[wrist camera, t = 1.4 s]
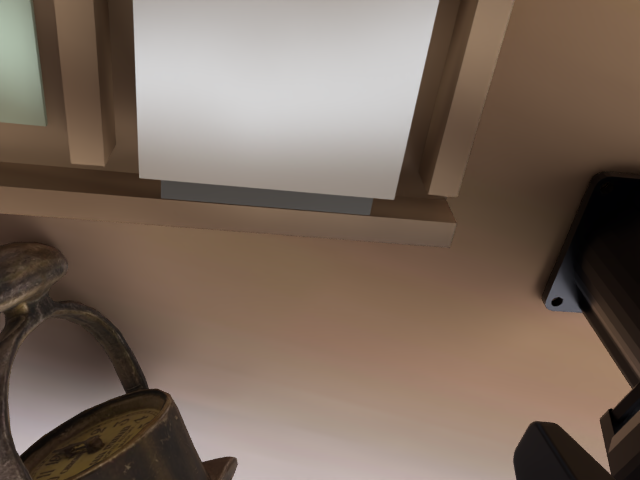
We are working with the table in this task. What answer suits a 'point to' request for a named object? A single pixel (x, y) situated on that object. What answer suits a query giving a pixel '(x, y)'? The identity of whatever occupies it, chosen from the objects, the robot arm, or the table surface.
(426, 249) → the table surface
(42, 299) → the bronze arched handle device
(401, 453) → the table surface
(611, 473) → the robot arm
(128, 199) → the rail board
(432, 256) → the table surface
